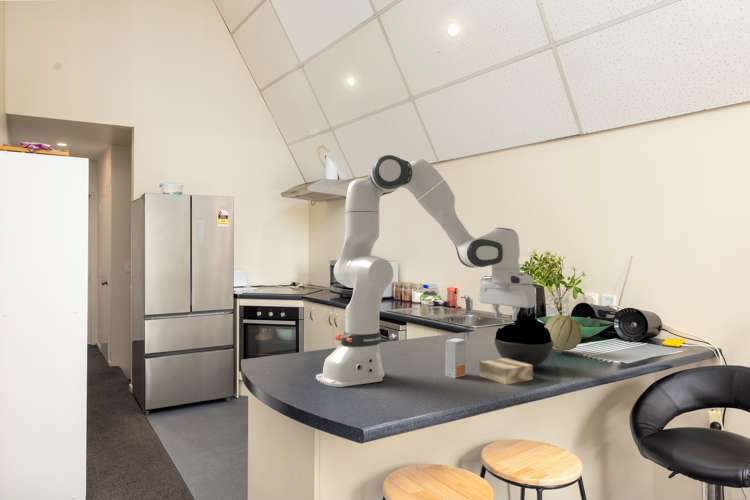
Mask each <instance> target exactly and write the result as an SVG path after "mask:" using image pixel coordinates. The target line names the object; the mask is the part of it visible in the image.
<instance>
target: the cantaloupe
mask: <svg viewBox="0 0 750 500" xmlns="http://www.w3.org/2000/svg"><path fill="white" fill-rule="evenodd" d="M544 327H545V328H547V329H548V330H549V332H550V334H551V340H553V347H552V348H553V349H555V350H557V351H571V350H573V349H575V348H577V347H578V345H579V344H580V343H581V340H582V335H583V334H582V333H583V331H582V328H581V325H580V324H579V322H578V321H577V320H576V319H574V318H573V317H571V314H570V313H568V315H564V314H557V315H554V316H552V317H551V318H549V320H547V322H546V323H545V325H544Z"/></svg>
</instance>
